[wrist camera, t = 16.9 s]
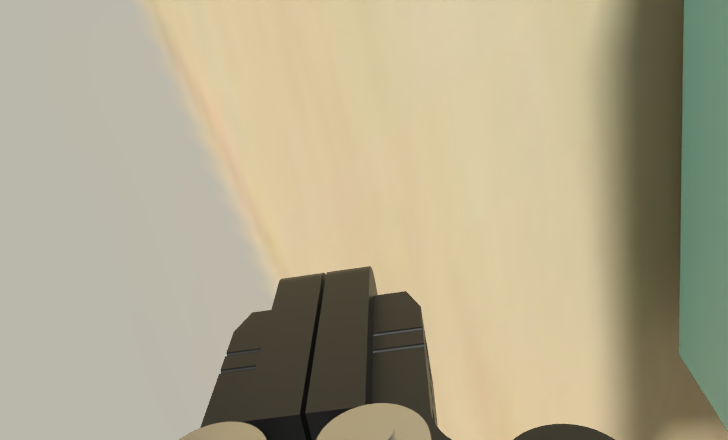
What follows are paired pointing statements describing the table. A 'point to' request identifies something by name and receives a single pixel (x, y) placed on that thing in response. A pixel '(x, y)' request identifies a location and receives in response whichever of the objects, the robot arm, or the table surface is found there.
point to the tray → (705, 201)
